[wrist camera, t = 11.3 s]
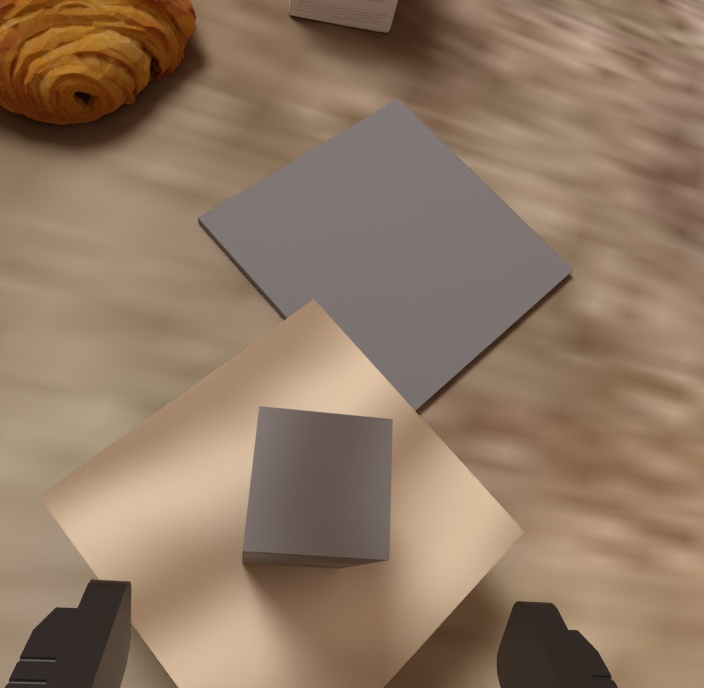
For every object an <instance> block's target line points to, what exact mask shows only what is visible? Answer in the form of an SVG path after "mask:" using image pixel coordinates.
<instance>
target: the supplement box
mask: <svg viewBox="0 0 704 688" xmlns="http://www.w3.org/2000/svg"><path fill="white" fill-rule="evenodd" d="M397 2H398V0H290V5H289V14H290V15H292V16H297V17H302V18H307V19H312V20H318V21H323V22H328V23H334V24H339V25H343V26H349V27H355V28H360V29H367V30H371V31H377V32H385V33H387V32H389V31H390V28H391V25H392V21H393V17H394V14H395V10H396V6H397Z"/></svg>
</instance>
